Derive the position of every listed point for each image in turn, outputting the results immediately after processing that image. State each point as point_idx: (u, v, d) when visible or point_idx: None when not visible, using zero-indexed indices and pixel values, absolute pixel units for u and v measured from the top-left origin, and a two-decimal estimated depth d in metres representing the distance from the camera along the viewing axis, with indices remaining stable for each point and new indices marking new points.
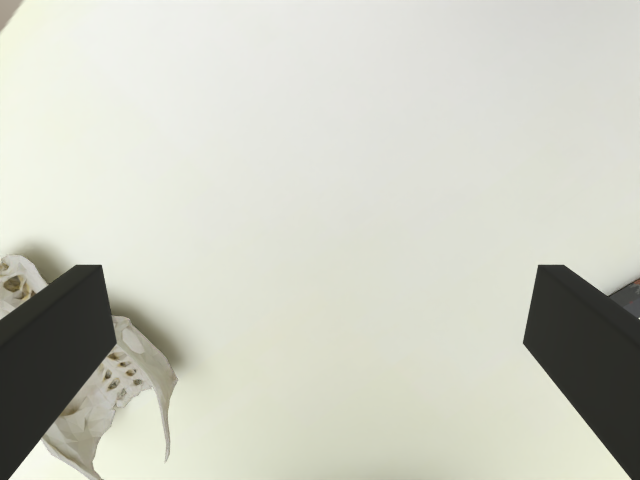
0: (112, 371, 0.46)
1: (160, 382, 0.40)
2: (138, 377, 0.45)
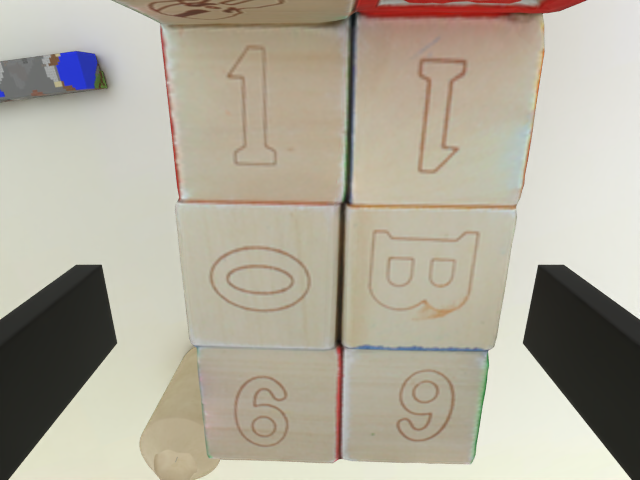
0: None
1: None
2: None
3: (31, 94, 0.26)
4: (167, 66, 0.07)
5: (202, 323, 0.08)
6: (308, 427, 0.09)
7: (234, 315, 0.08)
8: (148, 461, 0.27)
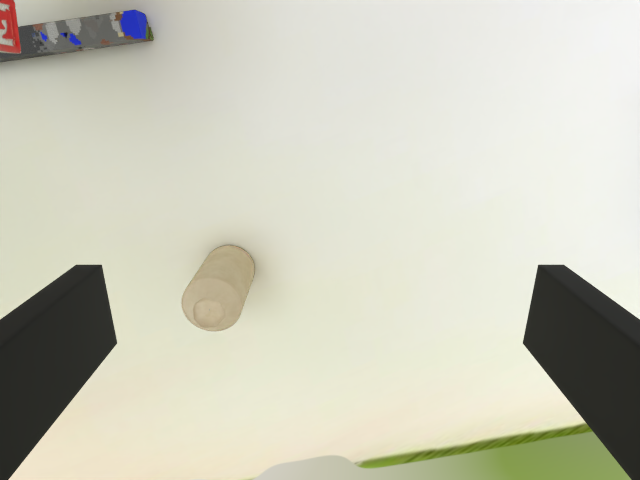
0: None
1: None
2: None
3: (100, 42, 0.36)
4: None
5: None
6: None
7: None
8: (188, 311, 0.37)
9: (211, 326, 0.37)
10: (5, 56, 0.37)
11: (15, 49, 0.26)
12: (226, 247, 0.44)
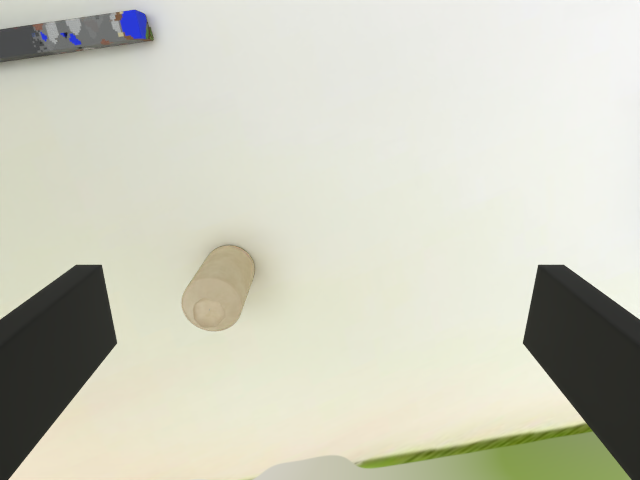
0: None
1: None
2: None
3: (100, 42, 0.36)
4: None
5: None
6: None
7: None
8: (188, 311, 0.37)
9: (211, 326, 0.37)
10: (5, 56, 0.37)
11: None
12: (226, 247, 0.44)
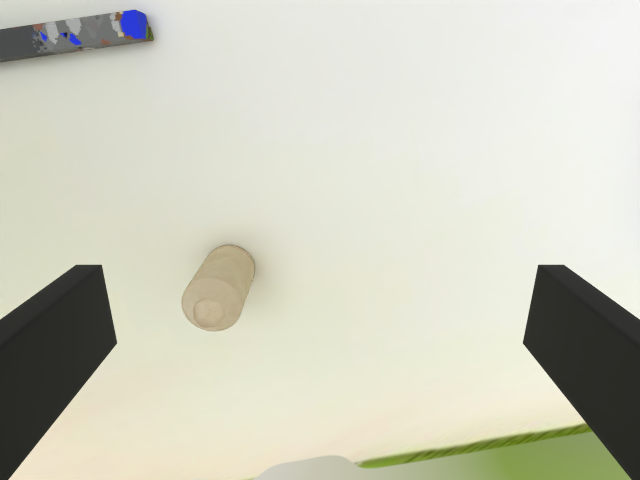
0: None
1: None
2: None
3: (100, 42, 0.36)
4: None
5: None
6: None
7: None
8: (188, 311, 0.37)
9: (211, 326, 0.37)
10: (5, 56, 0.37)
11: None
12: (226, 247, 0.44)
